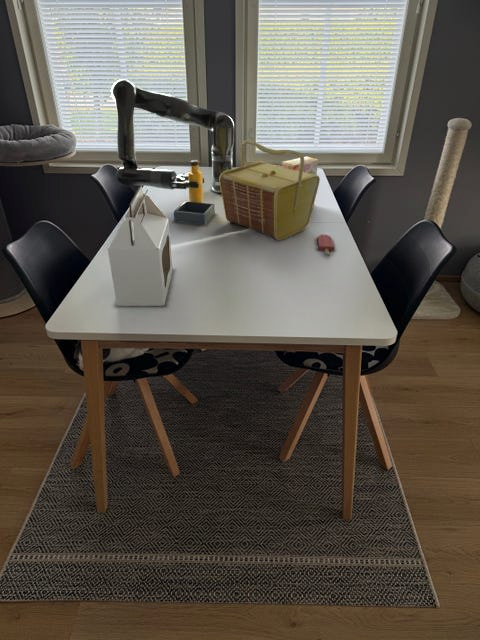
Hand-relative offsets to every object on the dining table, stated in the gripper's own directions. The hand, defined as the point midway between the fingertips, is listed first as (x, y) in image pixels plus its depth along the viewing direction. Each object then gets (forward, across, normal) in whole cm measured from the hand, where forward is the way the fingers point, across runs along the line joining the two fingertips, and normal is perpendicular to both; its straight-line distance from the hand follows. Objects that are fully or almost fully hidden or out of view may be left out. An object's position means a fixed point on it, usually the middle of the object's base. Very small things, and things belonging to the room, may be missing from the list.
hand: (201, 182), depth 185 cm
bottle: (-2, 0, +11) cm, 11 cm away
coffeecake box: (+38, +14, +11) cm, 42 cm away
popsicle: (+55, -24, +11) cm, 61 cm away
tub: (+1, -12, +11) cm, 16 cm away
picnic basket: (+31, -11, +11) cm, 34 cm away
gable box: (+6, -68, +11) cm, 69 cm away
